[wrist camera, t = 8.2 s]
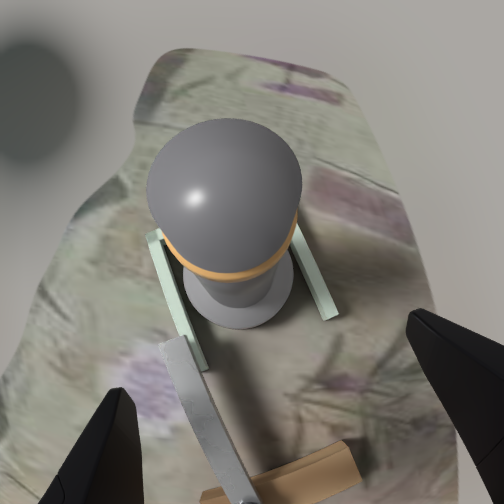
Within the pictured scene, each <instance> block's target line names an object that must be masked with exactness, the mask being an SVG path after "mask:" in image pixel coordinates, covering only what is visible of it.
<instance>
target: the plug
mask: <svg viewBox="0 0 504 504" xmlns="http://www.w3.org/2000/svg"><path fill="white" fill-rule="evenodd" d="M146 192H147V201H148V206H149V209H150V212H151V214H152V217H153V218H154V220H155V222H156V223H157V225H158V226H159V228H160V229H161V231H162V234H163V237H164V240H165V242H166V244H167V246H168V247H169V249H170V251H171V252H172V253H173V254H174V256H175V257H176V258H177V259H178V260H179V262H180V263H181V264H182V265H183V266H184V270H183V280H184V286H185V290H186V293H187V295H188V298H189V300H190V301H191V303H192V304H193V306H194V307H195V308H196V310H197V311H198V312H199V313H200V314H201V315H203V316H204V317H205V318H207V319H208V320H210V321H211V322H213V323H215V324H217V325H219V326H222V327H225V328H229V329H248V328H253V327H256V326H259V325H261V324H263V323H265V322H267V321H268V320H269V319H271V318H272V317H273V316H274V315H275V314H277V312H278V311H279V310H280V309H281V308H282V306H283V305H284V303H285V302H286V300H287V298H288V296H289V294H290V291H291V288H292V283H293V264H292V260H291V257H290V254H289V252H288V250H287V249H288V247H289V244H290V242H291V240H292V237H293V234H294V231H295V228H296V224H297V207H298V204H299V201H300V197H301V192H302V175H301V169H300V166H299V163H298V160H297V158H296V156H295V154H294V153H293V151H292V150H291V148H290V147H289V146H288V144H287V143H286V142H285V141H284V140H283V139H282V138H281V137H279V136H278V135H277V134H276V133H274V132H273V131H271V130H270V129H268V128H266V127H264V126H262V125H260V124H257V123H254V122H251V121H247V120H241V119H230V118H224V119H214V120H209V121H205V122H201V123H198V124H196V125H193V126H191V127H189V128H187V129H185V130H183V131H181V132H180V133H179V134H177V135H176V136H174V137H173V138H172V139H171V140H170V141H169V142H167V143H166V145H165V146H164V147H163V148H162V149H161V150H160V152H159V153H158V155H157V156H156V158H155V160H154V162H153V163H152V166H151V168H150V171H149V175H148V179H147V188H146Z"/></svg>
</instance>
